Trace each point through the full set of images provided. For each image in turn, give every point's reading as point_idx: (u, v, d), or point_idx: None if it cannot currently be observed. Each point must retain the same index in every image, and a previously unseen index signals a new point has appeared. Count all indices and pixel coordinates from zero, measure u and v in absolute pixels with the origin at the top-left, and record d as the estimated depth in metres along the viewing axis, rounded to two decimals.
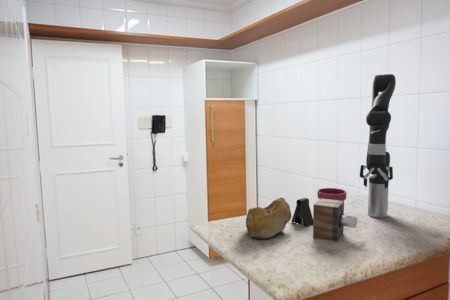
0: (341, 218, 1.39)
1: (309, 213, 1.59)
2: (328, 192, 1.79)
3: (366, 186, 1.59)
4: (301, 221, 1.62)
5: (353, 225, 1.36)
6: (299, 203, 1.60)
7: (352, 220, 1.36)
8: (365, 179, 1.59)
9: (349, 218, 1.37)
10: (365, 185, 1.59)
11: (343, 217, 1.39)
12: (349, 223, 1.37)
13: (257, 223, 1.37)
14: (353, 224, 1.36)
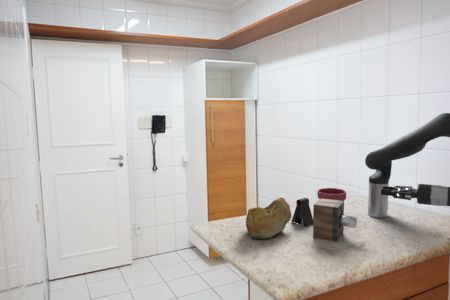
0: (341, 218, 1.39)
1: (309, 213, 1.59)
2: (328, 192, 1.79)
3: None
4: (301, 221, 1.62)
5: (353, 225, 1.36)
6: (299, 203, 1.60)
7: (352, 220, 1.36)
8: (391, 195, 1.27)
9: (349, 218, 1.37)
10: (382, 194, 1.28)
11: (343, 217, 1.39)
12: (349, 223, 1.37)
13: (257, 223, 1.37)
14: (353, 224, 1.36)
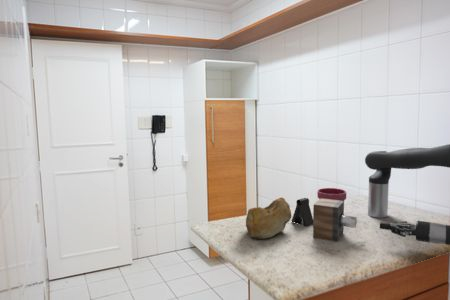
0: (341, 218, 1.39)
1: (309, 213, 1.59)
2: (328, 192, 1.79)
3: (380, 227, 1.33)
4: (301, 221, 1.62)
5: (353, 225, 1.36)
6: (299, 203, 1.60)
7: (352, 220, 1.36)
8: (389, 229, 1.31)
9: (349, 218, 1.37)
10: (381, 228, 1.32)
11: (343, 217, 1.39)
12: (349, 223, 1.37)
13: (257, 223, 1.37)
14: (353, 224, 1.36)
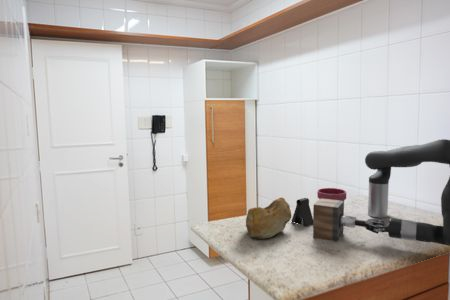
0: (340, 218, 1.39)
1: (309, 213, 1.59)
2: (328, 192, 1.79)
3: None
4: (301, 221, 1.62)
5: (352, 225, 1.36)
6: (299, 203, 1.60)
7: (351, 220, 1.36)
8: (364, 226, 1.35)
9: (348, 218, 1.38)
10: (356, 225, 1.37)
11: (342, 217, 1.39)
12: (348, 223, 1.37)
13: (257, 223, 1.37)
14: (352, 224, 1.36)
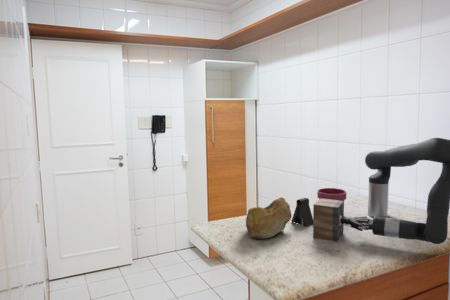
0: None
1: (309, 213, 1.59)
2: (328, 192, 1.79)
3: None
4: (301, 221, 1.62)
5: None
6: (299, 203, 1.60)
7: None
8: (349, 224, 1.38)
9: None
10: (342, 223, 1.40)
11: None
12: None
13: (257, 223, 1.37)
14: None
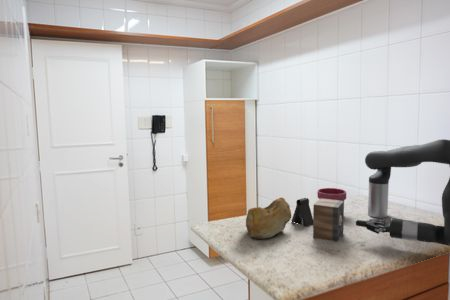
0: None
1: (309, 213, 1.59)
2: (328, 192, 1.79)
3: None
4: (301, 221, 1.62)
5: None
6: (299, 203, 1.60)
7: None
8: (365, 226, 1.35)
9: None
10: (358, 225, 1.37)
11: None
12: None
13: (257, 223, 1.37)
14: None
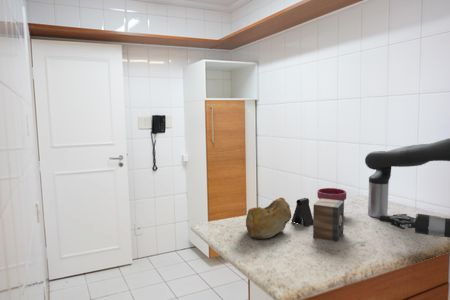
0: None
1: (309, 213, 1.59)
2: (328, 192, 1.79)
3: (380, 219, 1.34)
4: (301, 221, 1.62)
5: None
6: (299, 203, 1.60)
7: None
8: None
9: None
10: (381, 220, 1.34)
11: None
12: None
13: (257, 223, 1.37)
14: None
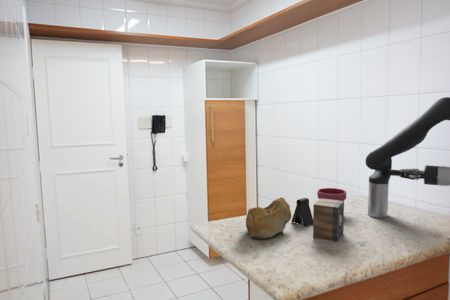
0: None
1: (309, 213, 1.59)
2: (328, 192, 1.79)
3: (389, 174, 1.37)
4: (301, 221, 1.62)
5: None
6: (299, 203, 1.60)
7: None
8: (398, 175, 1.35)
9: None
10: (390, 175, 1.37)
11: None
12: None
13: (257, 223, 1.37)
14: None
